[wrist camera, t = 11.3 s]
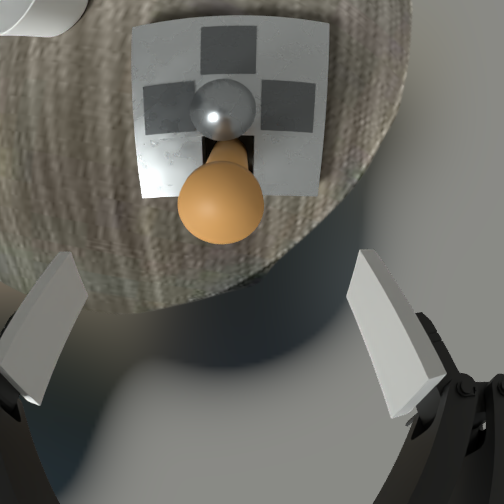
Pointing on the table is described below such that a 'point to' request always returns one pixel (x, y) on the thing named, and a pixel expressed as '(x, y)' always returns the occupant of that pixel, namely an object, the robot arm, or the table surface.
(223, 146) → the tan wooden pestle
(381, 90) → the table surface
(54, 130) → the table surface
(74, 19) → the mug
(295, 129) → the checkered knob plate
